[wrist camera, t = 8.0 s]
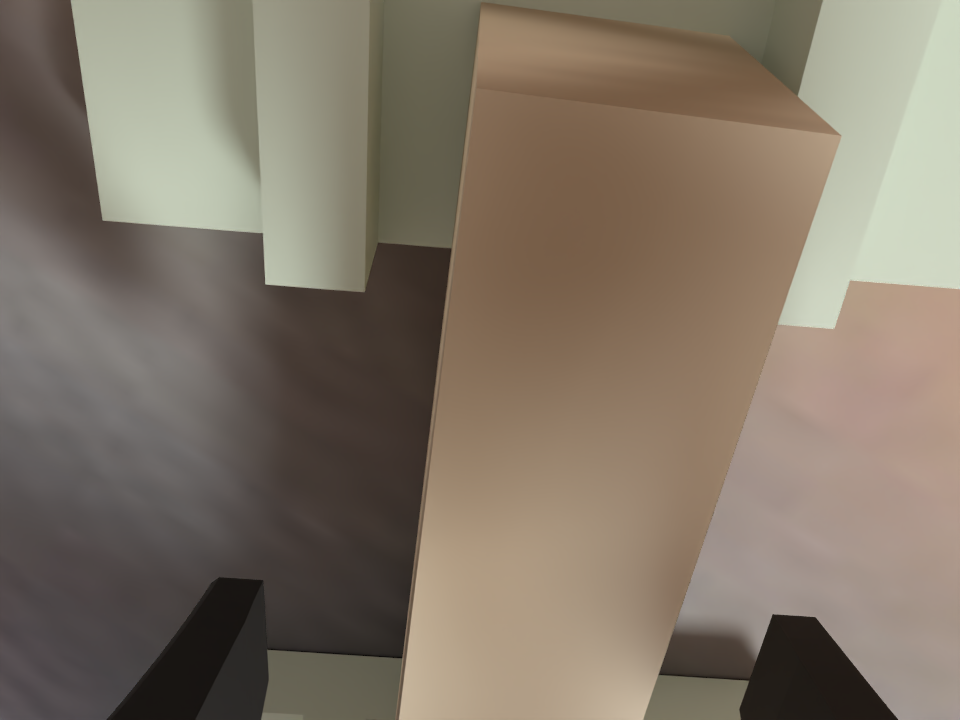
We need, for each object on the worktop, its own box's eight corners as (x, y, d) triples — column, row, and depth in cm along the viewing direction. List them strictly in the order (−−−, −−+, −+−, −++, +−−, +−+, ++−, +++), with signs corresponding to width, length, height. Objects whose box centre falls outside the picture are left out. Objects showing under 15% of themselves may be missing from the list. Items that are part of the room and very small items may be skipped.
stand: (716, 821, 21) (747, 957, 19) (212, 792, 21) (173, 927, 18) (1065, -123, 11) (1240, -106, 9) (92, -217, 11) (-33, -229, 8)
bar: (729, 35, 11) (841, 136, 7) (525, 818, 19) (534, 1039, 15) (481, 1, 11) (476, 88, 7) (384, 806, 19) (360, 1027, 15)
